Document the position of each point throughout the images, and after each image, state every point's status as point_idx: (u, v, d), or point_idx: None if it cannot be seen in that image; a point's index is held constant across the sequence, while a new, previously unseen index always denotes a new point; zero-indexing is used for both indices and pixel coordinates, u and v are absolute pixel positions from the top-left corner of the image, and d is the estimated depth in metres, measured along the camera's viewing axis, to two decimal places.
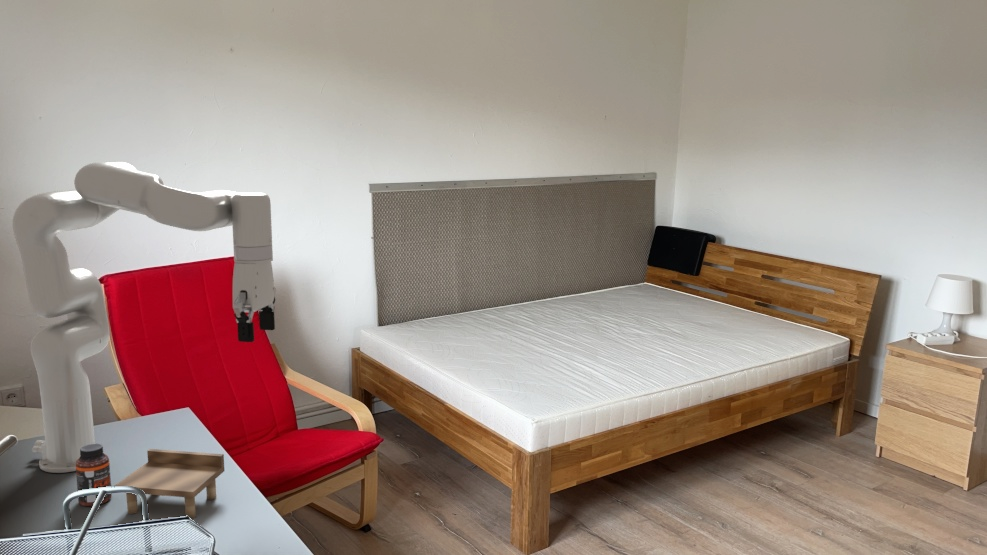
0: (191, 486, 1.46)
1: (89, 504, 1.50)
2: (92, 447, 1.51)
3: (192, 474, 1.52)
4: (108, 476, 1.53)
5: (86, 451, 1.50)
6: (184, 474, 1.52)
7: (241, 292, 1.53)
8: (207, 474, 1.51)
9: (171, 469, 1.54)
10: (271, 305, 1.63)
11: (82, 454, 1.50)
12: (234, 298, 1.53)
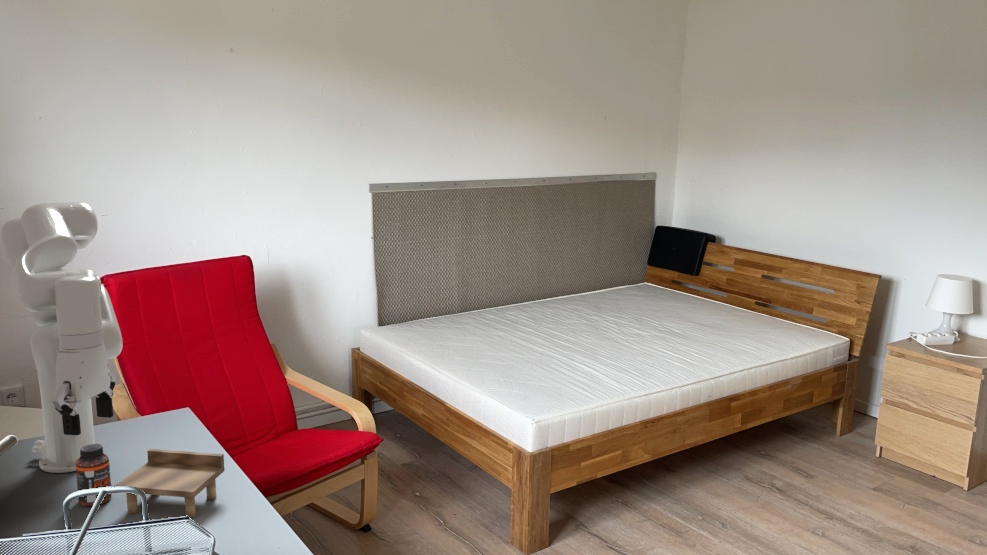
0: (191, 486, 1.46)
1: (89, 504, 1.50)
2: (92, 447, 1.51)
3: (192, 474, 1.52)
4: (108, 476, 1.53)
5: (86, 451, 1.50)
6: (184, 474, 1.52)
7: (64, 383, 1.44)
8: (207, 474, 1.51)
9: (171, 469, 1.54)
10: (108, 391, 1.54)
11: (82, 454, 1.50)
12: (57, 389, 1.44)
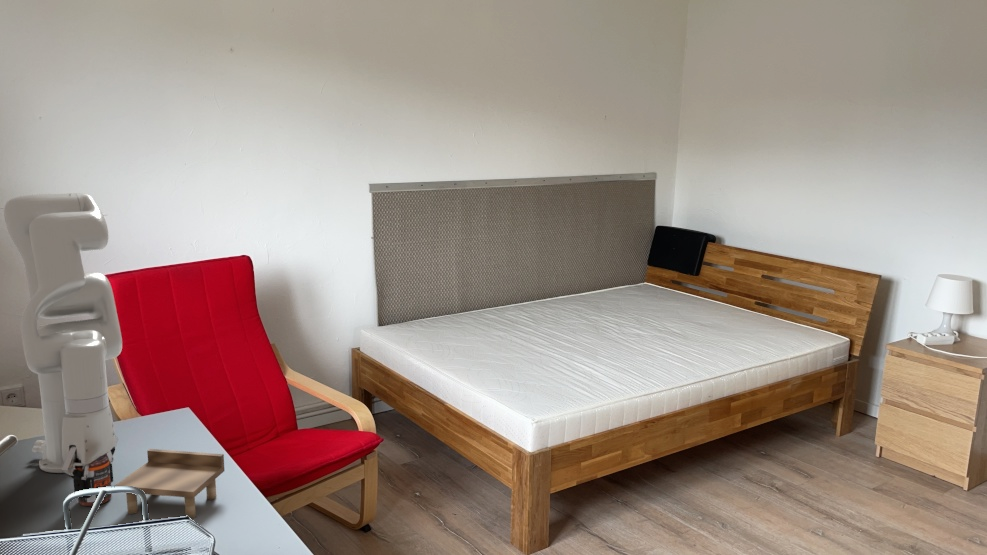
0: (191, 486, 1.46)
1: (89, 504, 1.50)
2: None
3: (192, 474, 1.52)
4: (108, 476, 1.53)
5: None
6: (184, 474, 1.52)
7: (71, 449, 1.46)
8: (207, 474, 1.51)
9: (171, 469, 1.54)
10: (109, 456, 1.55)
11: None
12: (63, 452, 1.47)
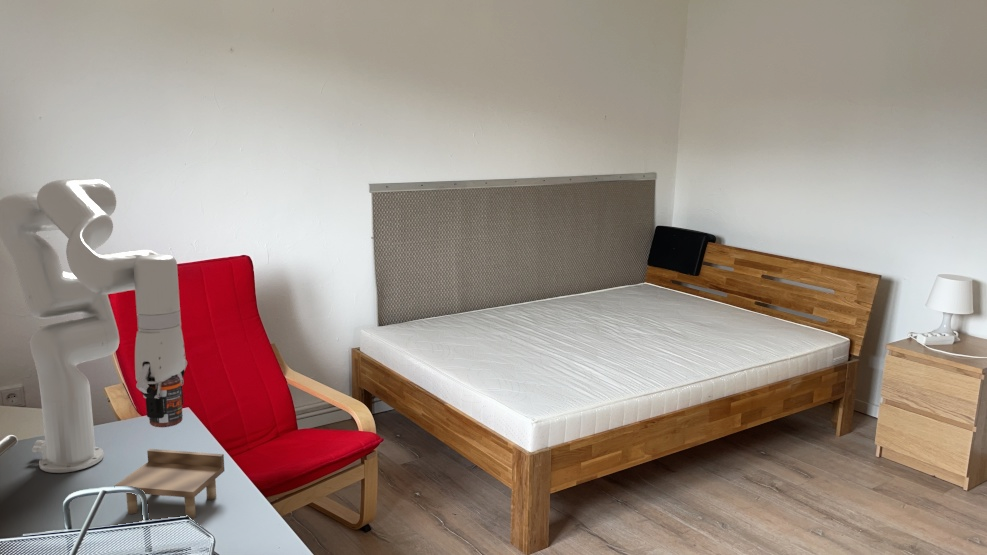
0: (191, 486, 1.46)
1: (161, 425, 1.46)
2: None
3: (192, 474, 1.52)
4: (180, 397, 1.48)
5: None
6: (184, 474, 1.52)
7: (144, 366, 1.42)
8: (207, 474, 1.51)
9: (171, 469, 1.54)
10: None
11: None
12: (136, 369, 1.42)
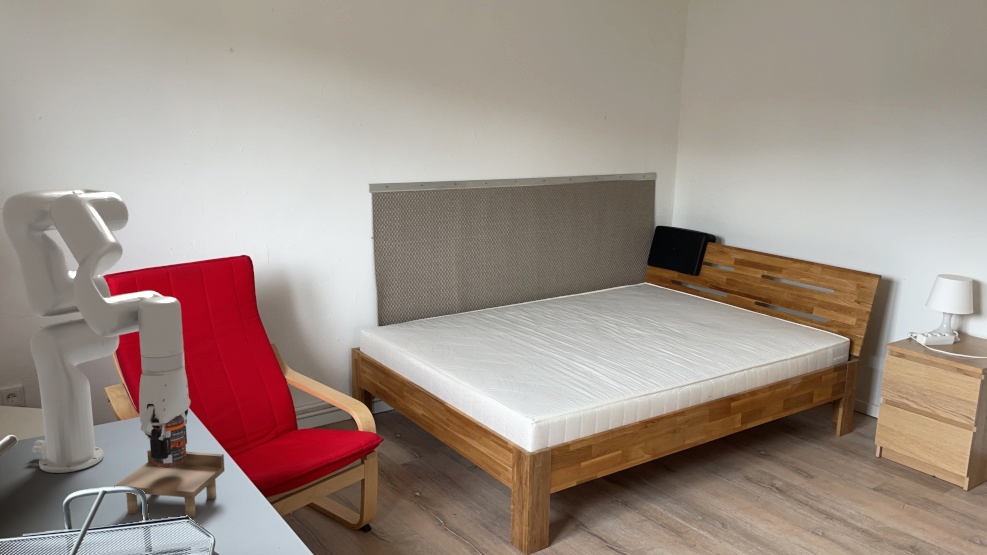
0: (191, 486, 1.46)
1: (165, 465, 1.48)
2: None
3: (192, 474, 1.52)
4: (184, 437, 1.50)
5: None
6: (184, 474, 1.52)
7: (148, 408, 1.43)
8: (207, 474, 1.51)
9: (171, 469, 1.54)
10: (183, 417, 1.52)
11: None
12: (141, 411, 1.44)
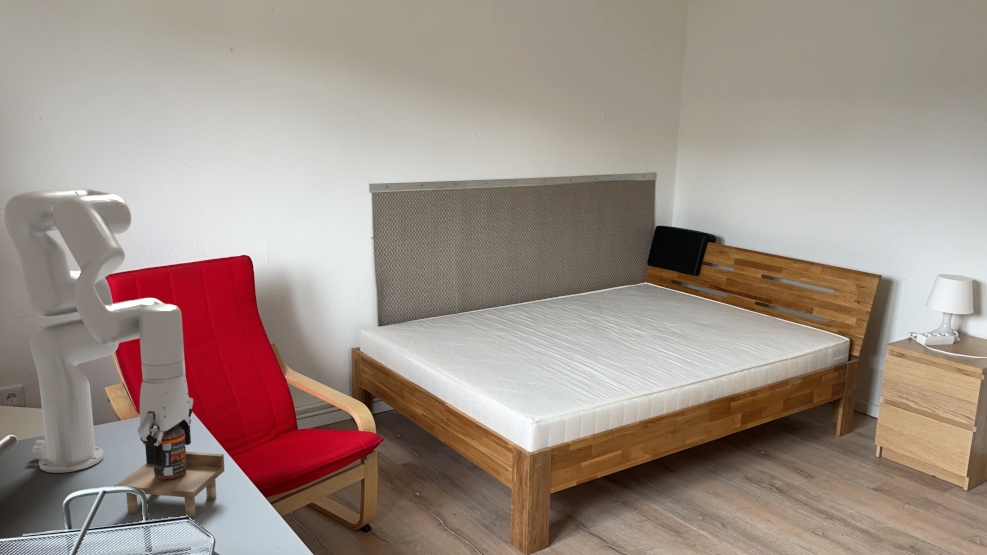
0: (191, 486, 1.46)
1: (166, 477, 1.48)
2: None
3: (192, 474, 1.52)
4: (184, 449, 1.50)
5: None
6: (184, 474, 1.52)
7: (148, 413, 1.43)
8: (207, 474, 1.51)
9: None
10: (186, 419, 1.53)
11: None
12: (141, 419, 1.44)
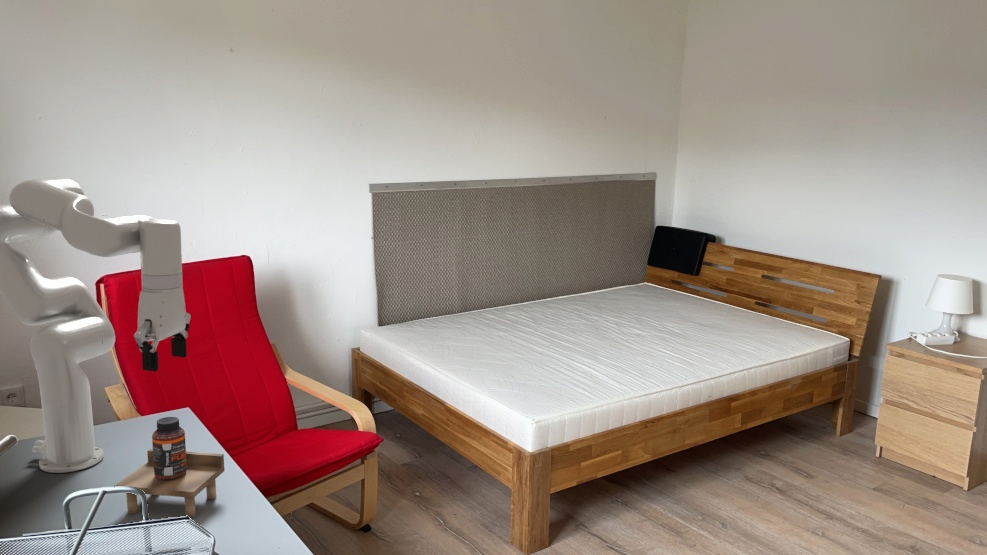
0: (191, 486, 1.46)
1: (166, 477, 1.48)
2: (168, 420, 1.49)
3: (192, 474, 1.52)
4: (184, 449, 1.50)
5: (163, 423, 1.47)
6: (184, 474, 1.52)
7: (145, 321, 1.51)
8: (207, 474, 1.51)
9: None
10: (183, 332, 1.60)
11: (159, 426, 1.48)
12: (139, 326, 1.51)
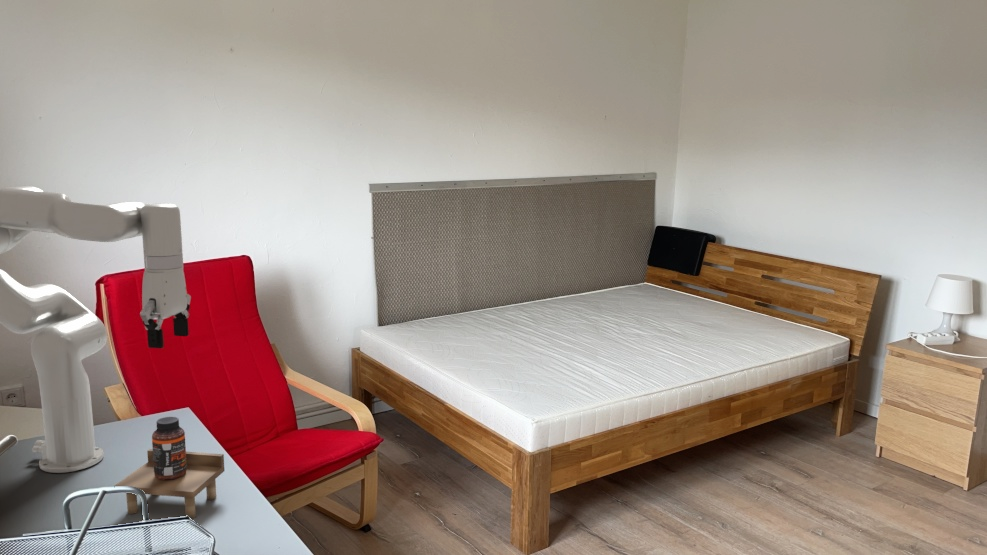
0: (191, 486, 1.46)
1: (166, 477, 1.48)
2: (168, 420, 1.49)
3: (192, 474, 1.52)
4: (184, 449, 1.50)
5: (163, 423, 1.47)
6: (184, 474, 1.52)
7: (150, 300, 1.58)
8: (207, 474, 1.51)
9: None
10: (184, 312, 1.68)
11: (159, 426, 1.48)
12: (143, 306, 1.59)
